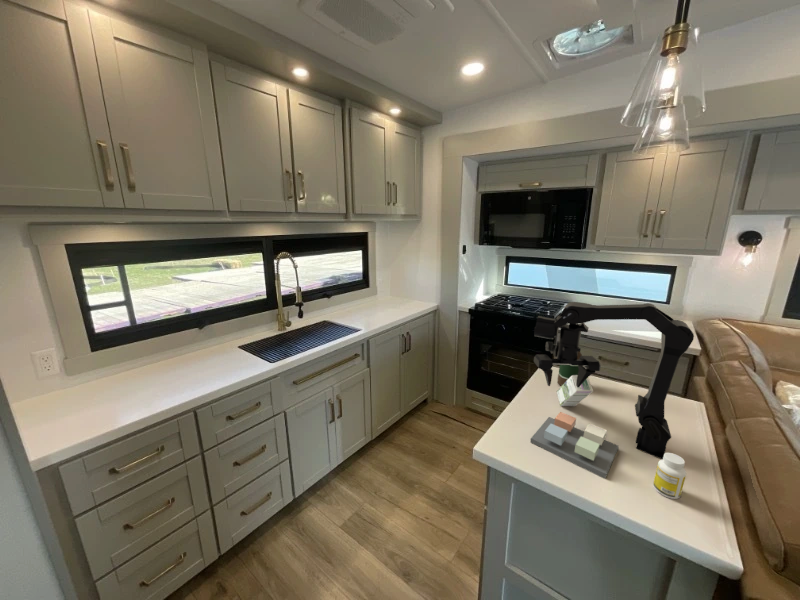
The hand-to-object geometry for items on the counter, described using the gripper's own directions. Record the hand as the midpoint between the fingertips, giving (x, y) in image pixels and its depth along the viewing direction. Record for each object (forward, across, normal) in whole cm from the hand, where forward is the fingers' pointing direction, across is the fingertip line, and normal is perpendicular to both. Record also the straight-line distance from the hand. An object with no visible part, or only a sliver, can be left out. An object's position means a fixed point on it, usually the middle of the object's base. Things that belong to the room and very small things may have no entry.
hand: (563, 386), depth 105 cm
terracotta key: (+10, +1, +7) cm, 12 cm away
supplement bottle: (+14, -16, +27) cm, 34 cm away
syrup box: (+12, -6, -11) cm, 17 cm away
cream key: (+10, -6, +12) cm, 17 cm away
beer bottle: (+13, -13, -24) cm, 31 cm away
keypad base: (+13, 0, +12) cm, 18 cm away
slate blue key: (+10, +6, +13) cm, 18 cm away
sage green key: (+10, 0, +18) cm, 21 cm away
